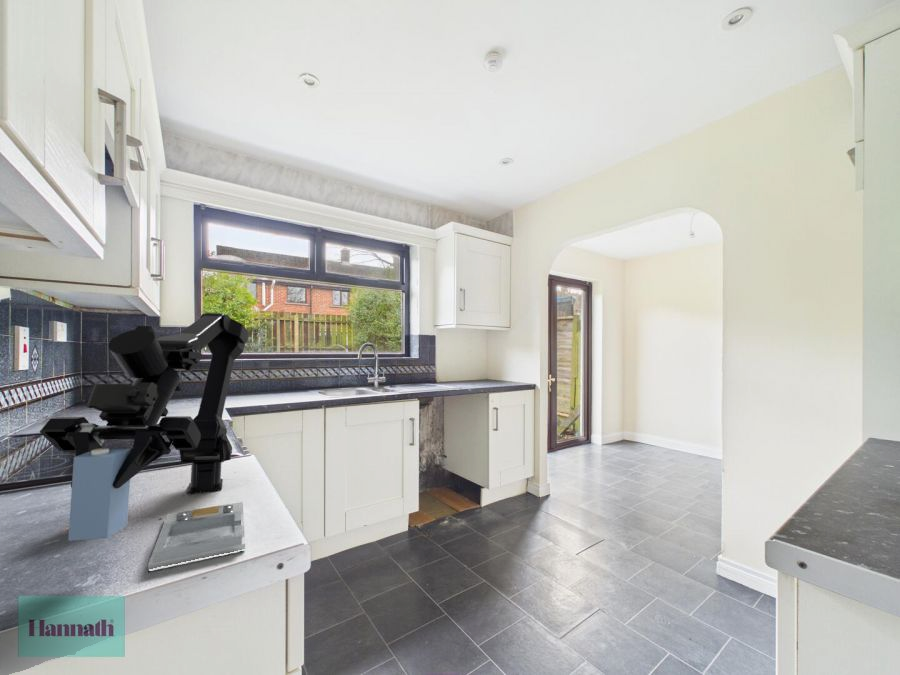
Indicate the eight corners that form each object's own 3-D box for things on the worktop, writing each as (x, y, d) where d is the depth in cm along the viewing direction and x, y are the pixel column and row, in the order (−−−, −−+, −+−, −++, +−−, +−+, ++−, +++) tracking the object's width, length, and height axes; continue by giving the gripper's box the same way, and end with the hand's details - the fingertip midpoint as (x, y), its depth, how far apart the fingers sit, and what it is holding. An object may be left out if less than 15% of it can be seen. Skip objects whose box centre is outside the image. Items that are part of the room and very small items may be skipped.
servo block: (91, 526, 53) (96, 444, 53) (127, 524, 54) (132, 444, 54) (68, 540, 49) (74, 452, 49) (107, 538, 50) (112, 451, 50)
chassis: (167, 520, 67) (168, 506, 68) (242, 508, 74) (242, 494, 74) (147, 572, 52) (148, 554, 52) (244, 551, 58) (245, 534, 58)
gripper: (55, 362, 54) (-32, 460, 43) (196, 365, 58) (149, 455, 47) (92, 407, 62) (26, 501, 50) (215, 407, 65) (178, 494, 54)
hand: (94, 487), depth 50 cm, fingers closed on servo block, 4 cm apart
